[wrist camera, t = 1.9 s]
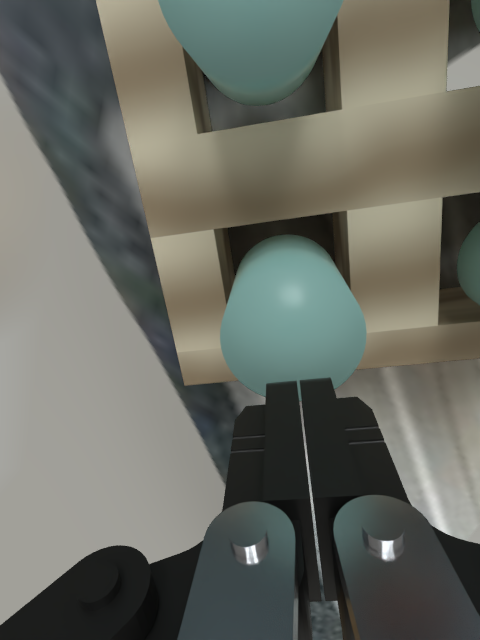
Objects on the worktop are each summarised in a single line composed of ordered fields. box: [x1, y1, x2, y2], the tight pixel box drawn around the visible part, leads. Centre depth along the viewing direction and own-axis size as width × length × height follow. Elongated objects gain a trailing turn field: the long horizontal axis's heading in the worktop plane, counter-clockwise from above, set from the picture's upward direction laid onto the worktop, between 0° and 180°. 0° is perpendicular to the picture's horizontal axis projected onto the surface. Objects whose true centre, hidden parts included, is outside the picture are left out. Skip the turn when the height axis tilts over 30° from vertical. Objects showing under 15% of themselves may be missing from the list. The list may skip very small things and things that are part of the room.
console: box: [96, 0, 480, 385], centre depth 19 cm, size 20×24×5 cm
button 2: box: [158, 0, 343, 106], centre depth 12 cm, size 5×5×6 cm
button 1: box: [220, 234, 367, 401], centre depth 16 cm, size 5×5×6 cm
